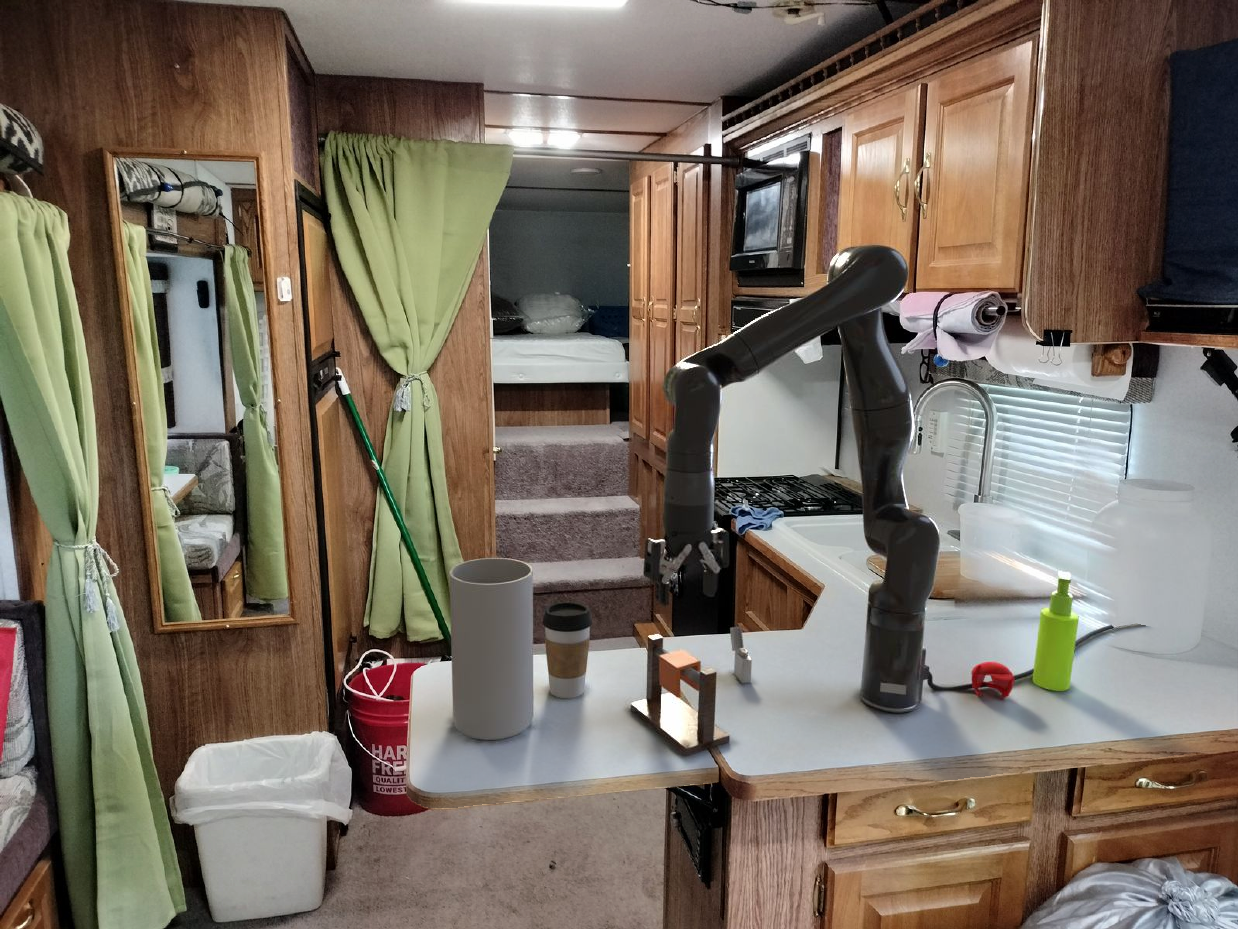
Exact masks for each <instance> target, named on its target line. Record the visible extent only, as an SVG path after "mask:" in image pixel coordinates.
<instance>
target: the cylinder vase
mask: <svg viewBox="0 0 1238 929" xmlns="http://www.w3.org/2000/svg"><path fill="white" fill-rule="evenodd" d="M449 598H450V599H449V605H450V606H449V607H450V608H449V609H450V644H451V646H450V647H451V648H450V650H451V688H452V689H451V690H452V692H451V693H452V721H453V725H454V727H455V728H456V730H457V731H458V732H460V733H461V734H463V735H464V736H466V737H469V738H472V739H476V740H486V741H490V740H491V741H493V740H495V741H496V740H503V739H507V738H511V737H514V736H516V735H519V734H520V733H522V732H523V731H525V730H526V729H528V727H529V726H530V725H531V723H532V722H533V720H534V568H533V566H532V565H530V564H529V563H527V562H525V561H522V560H520V559H519V560H518V559H514V558H508V557H507V558H506V557H485V558H484V557H483V558H476V559H470V560H466V561H462V562H460V563H458V564H455V565H453V566H452V568H450V570H449Z"/></svg>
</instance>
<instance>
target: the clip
mask: <svg viewBox="0 0 1238 929" xmlns="http://www.w3.org/2000/svg"><path fill="white" fill-rule="evenodd" d="M690 667H691V668H692V669H694V670H695V671H697V672H698V673H700V671H701V670H702V669H701V668H702V661H701V660H700V659H699V658H698V657H695V655H692V654H691V653H689V652H688V651H686V650H685V649H683V648H681V649H678V650H674V651H671V652H669V653H667V654H663V655H660V656H659V670H660V685H661V686H662V689H665V690H666V691H667V692H668V693H671V694H673V695H674V696H676V697H677V698H681V681H682V682H684V683H685V684H686V685H688V686H690V687H691V688H692V689H693V690H695V691H697V692H699V686H698V685H697V684H696V683H694V682H693V681H691V680H690V679H688V678H687V677H685V676H684V675H683V674H681V673H680V670H683V669H687V668H690Z"/></svg>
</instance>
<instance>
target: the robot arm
mask: <svg viewBox="0 0 1238 929" xmlns="http://www.w3.org/2000/svg"><path fill="white" fill-rule="evenodd" d="M908 267H909V266H908V264H907V261H906V259H905V257H904V256H903V255H902V254H901V253H900V251H898V250H897V249H896V248H893V247H891V246H888V245H881V244H869V245H856V246H848V247H846V248H843V249H841V250H840V251H839V252H837V253H836V254H835V256H834V257H833V258H832V259H831V261H830V264H829V267H828V271H827V283H826V284H825V285H824V286H822V287H820V288H818V289H817V290H815V291H813V292H812V293H809V294H808V295H806V296H804V297H802V298H800V299H797V300H795V301H793V302H791V303H789V304H785V305H783V306H781V307H779V308H776V309H774V310H772V311H770V312H767V313H765V314H763V315H761V316H760V317H757V318H755V319H754V320H752V321H750V322H749V323H748V324H745V325H744V326H743V327H741V328H740V329H737V331H734V332H733V333H732V334H730V335H728V336H727V337H726V338H724V339H723V340H721V341H720V342H718V343H715V344H713V345H711V346H709V347H706V348H704V349H702V350H700V351H697V352H695V353H694V354H692V355H689V356H687V357H686V358H683V359H682V360H681V361H678V362H677V363H675V364H674V365H673V366H671V368H670V369H668V371H667V372H666V374H665V376H664V378H663V381H662V393H663V395H664V397H665V399H666V400H667V402H668V403H669V404H670V405H672V406H673V407H674V418H673V428H672V429H671V430H670V431H669V433H668V435H667V439H666V447H665V449H666V451H665V452H666V454H665V456H666V458H665V474H664V480H663V482H664V483H663V522H662V523H663V524H662V525H663V528H664V535H663V537H662V539H652V538H650V537H648V538H647V539H646V540H645V543H644V557H643V573H642V574H643V576H644V577H645V578H647V579H649V580H651V581H652V582H654V600H655V601H656V602H657V603H658V604H659V605H660V606H662V607H668V606H669V605H670V582H669V581H670V579H671V578H672V576H673V574H674V573H675V572H678V570H679V568H680V567H681V566H685V565H688V564H691V563H695V564H697V563H701V564H702V567H704V569H705V570H703V573H702V574H703V575H702V577H703V580H702V593H703V594H704V595H705V596H707V597H709V598H711V597H715V595H716V593H717V590H718V574H719V573H720V570H722V569H723V568H725V569H726V568H728V567H729V566H730V532H729V531H728V530H725V529H724V528H721V527H714V516H715V515H714V512H715V474H714V458H715V457H714V454H715V452H714V451H715V443H714V441H715V436H716V432H717V429H718V424H719V419H720V415H721V410H722V401H723V390H722V389H724V388H726V387H728V386H729V385H732V384H735V383H736V384H737V383H743V382H746V381H749V380H750V379H752V378H754V377H756V376H757V375H759V374H761V373H762V372H764V371H765V370H767V369H769V368H770V367H772V366H773V365H775V364H777V362H780V361H781V360H783V359H784V358H786V357H787V356H789V355H790V354H792V353H794V352H796V351H797V350H799V349H800V348H802V347H803V346H805V345H807V344H809V343H810V342H812V341H814V340H816V339H817V338H820V337H822V336H823V335H824V334H827V333H828V332H830V331H832V330H834V329H836V328H837V329H838V333H839V337H840V343H841V348H842V354H843V355H842V356H843V363H844V370H845V376H846V384H847V390H848V398H849V408H850V414H851V421H852V427H853V433H854V439H855V444H856V451H857V460H858V468H859V473H860V479H861V480H860V481H861V496H862V497H861V498H862V523H863V524H862V525H863V528H862V529H863V536H864V539H865V544H866V545H867V546H868V548H869V549H870V551H871V552H872V553H873V554H875V555H876V556H878V557H879V558H881V559H882V560H884V561H886V562H885V569H884V575H883V578H882V579H877V580H874V581H873V582H872V583H871V584H870V585H869V587H868V593H867V594H868V595H867V609H866V622H865V635H864V645H863V646H864V647H863V656H862V657H863V658H862V671H861V681H860V682H861V683H860V691H859V697H860V700H861V701H862V702H863V703H864V704H866V705H867V706H869V707H871V708H873V709H876V710H879V711H882V712H886V713H892V714H893V713H895V714H896V713H897V714H899V713H900V714H902V713H903V714H904V713H909V712H913V711H915V710H916V709H917V708H918V706H919V703H920V702H922V700H923V698H922V697H923V688H924V681H926V680H927V685H928V687H929V688H930V689H932V690H934V691H952V692H953V691H955V692H956V691H958V692H959V691H961V692H962V691H965V690H966V691H967V690H972V689H973V690H974V688H973V687H972V683H966V684H961V685H956V686H940V685H937V684H935V683H934V682H933V681H934V680H933V679H934V678H933V674H932V673H931V671H930V665H927V664H926V657H927V656H926V655H927V649H926V648H925V646H924V640H925V639H924V638H925V630H926V619H927V618H926V617H927V607H928V600H929V598H930V596H931V595H932V592H933V590H934V587H935V583H936V577H937V571H938V570H937V568H938V562H939V556H940V549H941V548H940V547H941V539H940V532H939V528H938V526H937V524H936V523H935V521H934V520H933V519H931V518H930V517H929V516H927V515H924V514H923V513H921V512H918V511H915V510H913V509H911V508H910V507H909V505H908V501H907V497H906V491H905V485H904V466H905V462H906V460H907V459H906V458H907V456H908V454H909V451H910V448H911V445H912V442H913V439H914V434H915V418H914V417H915V416H914V408H913V400H912V392H911V388H910V385H909V381H908V379H907V377H906V374H905V372H904V370H903V368H902V366H901V364H900V362H899V360H898V358H897V356H896V354H895V353H894V351H893V348H892V346H891V344H890V342H889V339H888V337H887V334H886V330H885V324H884V317H883V308H884V307H886V306H889V305H890V304H892V303H893V302H895V301H896V300H897V299H898V298H899V297H900V296H901V295H902V293H903V292H904V290H905V288H906V286H907V283H908V279H909V268H908ZM711 544H713V553H712V552H711V551H710V549H709V548H710V546H711ZM663 550H665V551H663ZM661 555H662V556H661ZM670 560H672V561H671V562H670ZM1111 630H1115V628H1114V627H1113V626H1112V624H1109V625H1106V626H1102V627H1099V628H1096V629H1095V630H1092V631H1090V632H1088V633H1087V634H1084V635H1083V636H1081V637H1080V638H1078V639H1076V642H1075V648H1077V647H1078V646H1080V645H1081V644H1082V643H1084V642H1085V641H1087V640H1089V639H1090V638H1092V637H1094V636H1096V635H1099V634H1101V633H1104V632H1107V631H1111ZM1033 672H1034V668H1032V669H1029V670H1026V671H1024V672H1021V673H1019V674H1018V673H1017V674H1015V675H1014V674H1013V676H1014V682H1015V681H1018V680H1022V679H1024V678H1028V677H1030V676H1033ZM988 682H991V683H993V681H992V680H989V681H988ZM981 688H988V687H987V684H986V683H982V684H981V686H980V688H979V689H981Z"/></svg>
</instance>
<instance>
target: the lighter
mask: <svg viewBox="0 0 1238 929" xmlns="http://www.w3.org/2000/svg"><path fill="white" fill-rule="evenodd" d="M729 632H730V644H731V651H733V652H734V665H733V666H734V667H733V668H734V669H733V674H734V675H735V677H736V678H737V679H738V681H739V682H740V683H741V684H750V683H751V682H752V668H753V667H752V666H753V665H752V664H753V659H752V658H751V656H750V655H749V651H748V650H747V648H746V647H744V639H743V638H744V637H743V630H742V626H734V627H730V628H729Z"/></svg>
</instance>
